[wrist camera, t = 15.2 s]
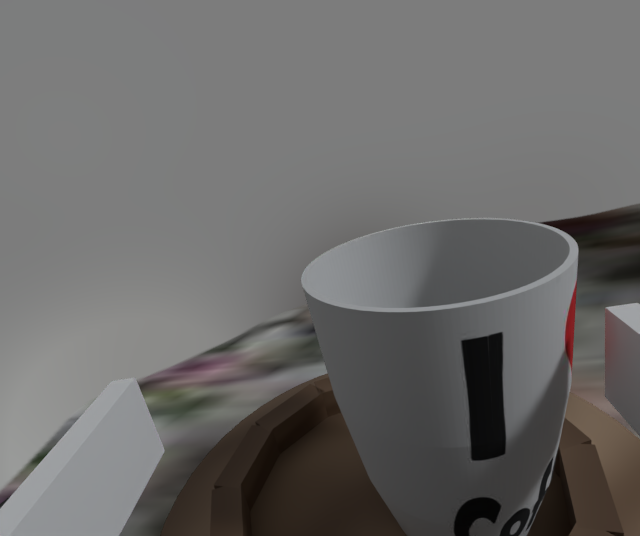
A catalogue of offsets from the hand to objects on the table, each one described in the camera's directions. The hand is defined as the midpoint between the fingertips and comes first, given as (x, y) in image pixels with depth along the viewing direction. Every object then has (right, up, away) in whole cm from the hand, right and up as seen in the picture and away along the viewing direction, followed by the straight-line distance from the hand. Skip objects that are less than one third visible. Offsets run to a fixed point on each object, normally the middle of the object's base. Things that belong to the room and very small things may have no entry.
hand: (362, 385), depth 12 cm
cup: (+4, -6, +5) cm, 8 cm away
